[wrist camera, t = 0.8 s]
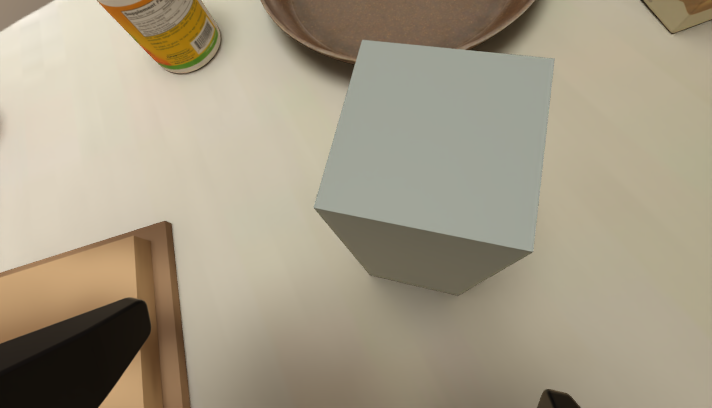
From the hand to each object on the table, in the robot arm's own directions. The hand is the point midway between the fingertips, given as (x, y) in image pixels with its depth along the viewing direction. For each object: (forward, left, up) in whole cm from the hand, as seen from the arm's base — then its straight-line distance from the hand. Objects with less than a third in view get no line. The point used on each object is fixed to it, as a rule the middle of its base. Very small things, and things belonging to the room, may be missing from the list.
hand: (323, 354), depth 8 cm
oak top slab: (+4, +17, -12) cm, 21 cm away
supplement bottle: (+24, +8, -13) cm, 29 cm away
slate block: (+4, -4, -13) cm, 14 cm away
